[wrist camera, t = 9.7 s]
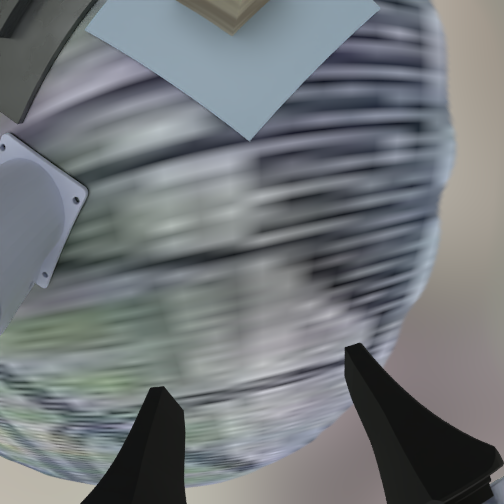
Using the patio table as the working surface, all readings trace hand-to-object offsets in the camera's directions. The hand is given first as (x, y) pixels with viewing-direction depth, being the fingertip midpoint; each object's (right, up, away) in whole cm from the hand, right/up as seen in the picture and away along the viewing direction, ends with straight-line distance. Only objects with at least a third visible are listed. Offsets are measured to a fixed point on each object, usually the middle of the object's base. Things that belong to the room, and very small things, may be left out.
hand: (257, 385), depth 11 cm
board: (-1, +19, +1) cm, 19 cm away
